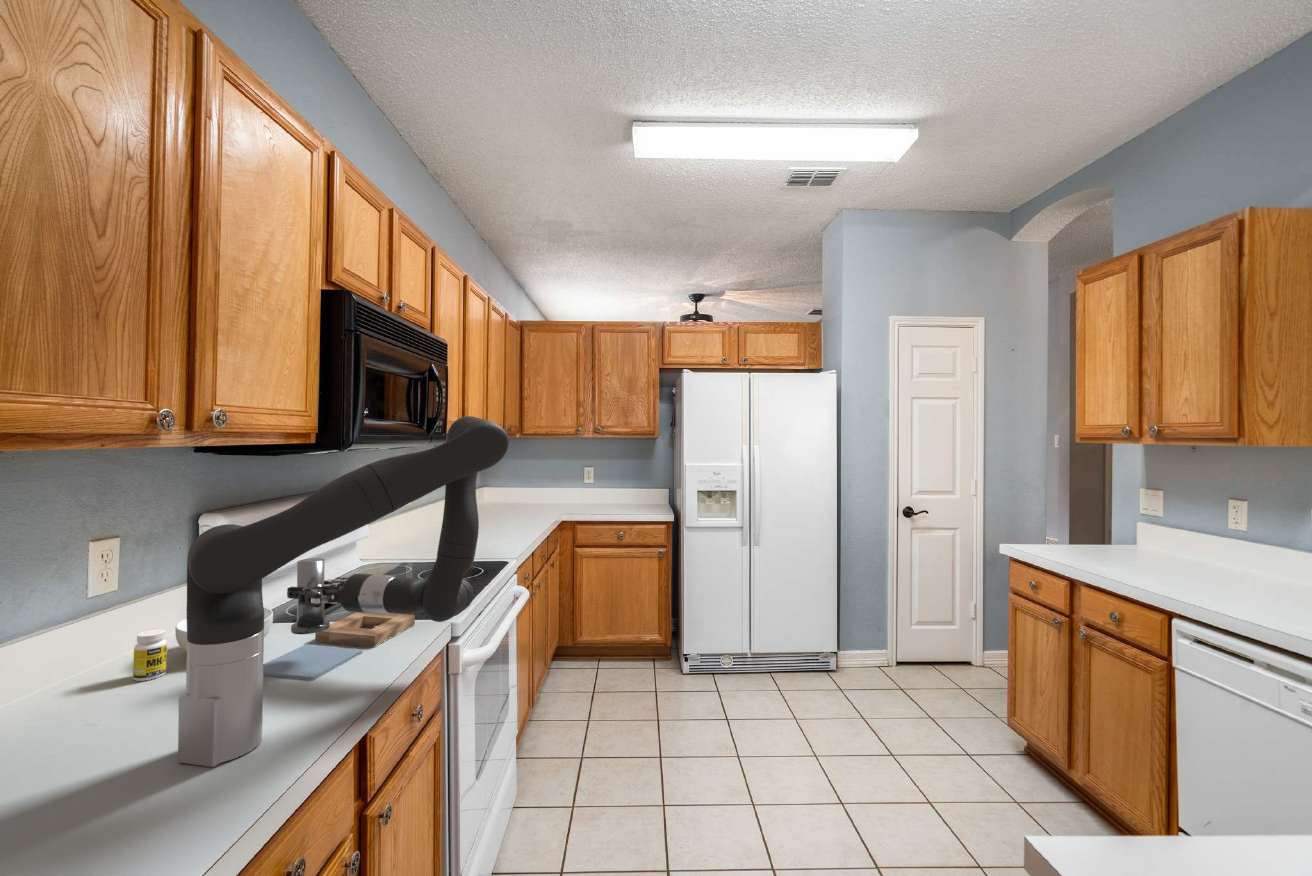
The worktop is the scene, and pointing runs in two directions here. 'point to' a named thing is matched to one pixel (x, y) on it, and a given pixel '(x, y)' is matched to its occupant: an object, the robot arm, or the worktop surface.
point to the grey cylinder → (311, 576)
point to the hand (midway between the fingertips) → (299, 588)
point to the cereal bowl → (182, 628)
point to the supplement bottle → (150, 655)
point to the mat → (308, 662)
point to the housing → (353, 634)
